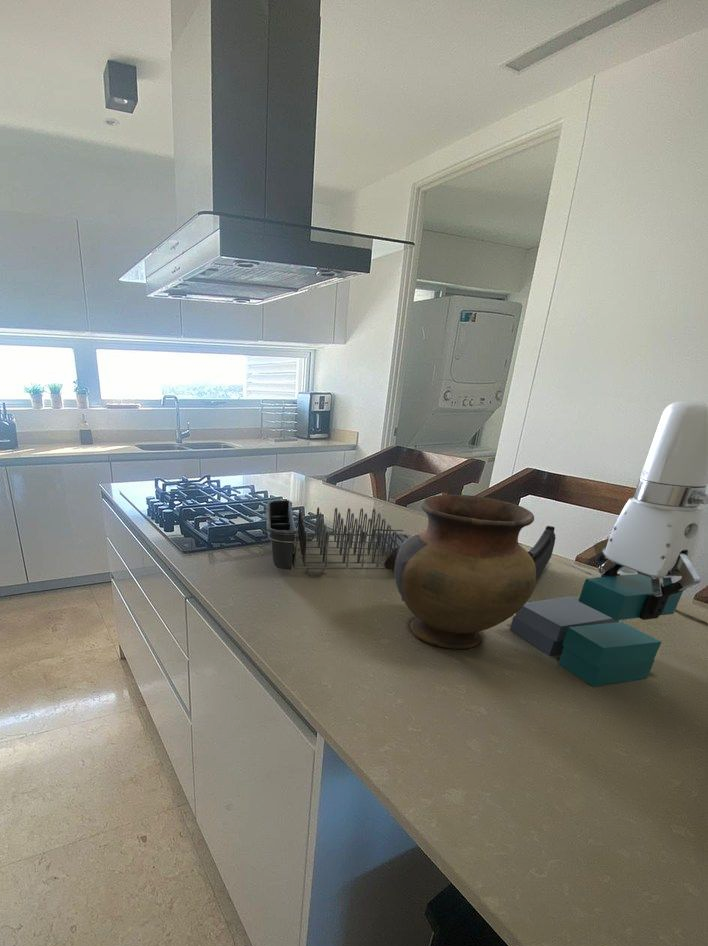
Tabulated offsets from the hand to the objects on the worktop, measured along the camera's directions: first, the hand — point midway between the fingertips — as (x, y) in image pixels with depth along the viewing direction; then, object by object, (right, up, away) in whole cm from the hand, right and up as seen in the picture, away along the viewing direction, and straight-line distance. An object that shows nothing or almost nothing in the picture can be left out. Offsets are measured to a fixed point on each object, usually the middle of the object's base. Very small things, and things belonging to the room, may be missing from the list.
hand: (625, 606), depth 76 cm
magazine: (+8, +6, +42) cm, 43 cm away
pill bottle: (+23, +1, +33) cm, 40 cm away
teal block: (0, 0, 0) cm, 0 cm away
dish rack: (-34, +12, +54) cm, 65 cm away
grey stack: (-1, -6, +15) cm, 16 cm away
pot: (-23, -6, +16) cm, 28 cm away
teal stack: (0, -11, +5) cm, 12 cm away
